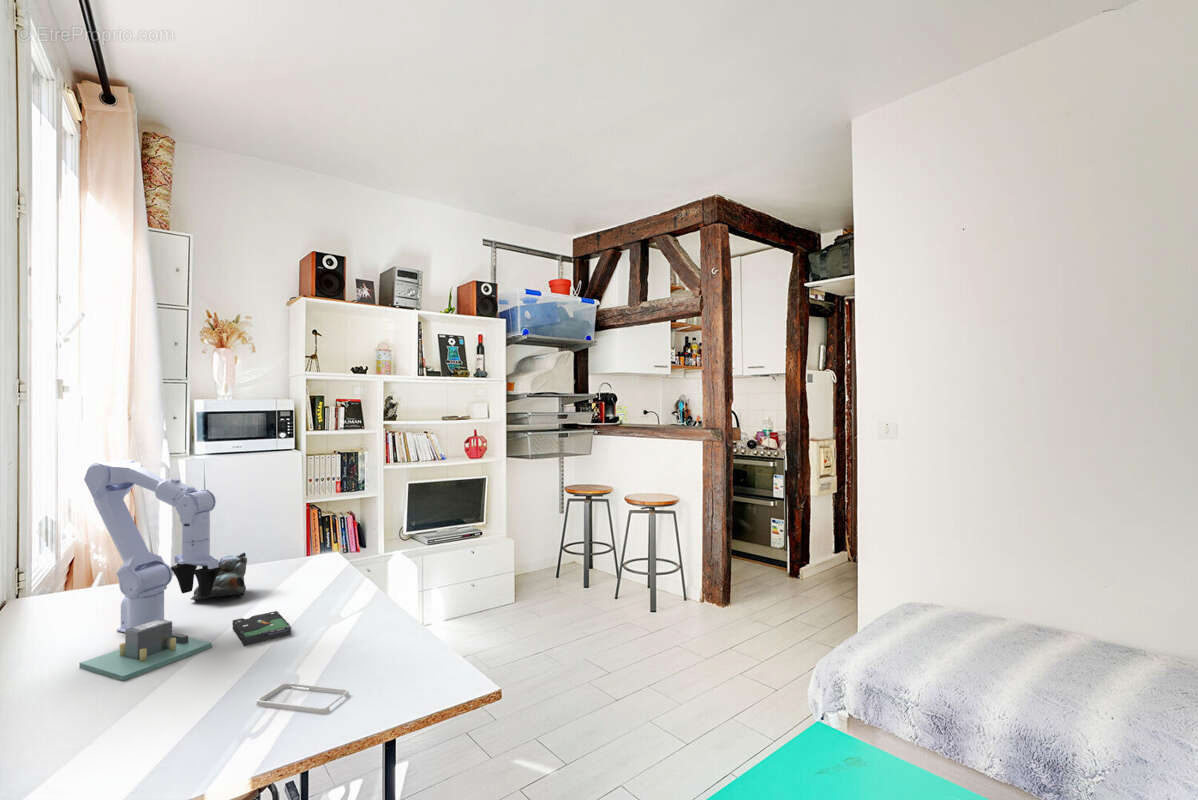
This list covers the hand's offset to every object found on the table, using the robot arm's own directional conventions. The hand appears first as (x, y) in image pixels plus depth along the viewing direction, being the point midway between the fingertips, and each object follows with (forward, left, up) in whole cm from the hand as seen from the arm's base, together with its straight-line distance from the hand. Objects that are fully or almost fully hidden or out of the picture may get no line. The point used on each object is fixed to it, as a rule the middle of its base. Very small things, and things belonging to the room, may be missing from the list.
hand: (196, 594), depth 145 cm
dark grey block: (+5, -13, -8) cm, 17 cm away
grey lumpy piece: (-21, +20, -10) cm, 31 cm away
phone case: (+54, -14, -10) cm, 57 cm away
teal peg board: (+5, -13, -9) cm, 17 cm away
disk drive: (+15, +6, -10) cm, 19 cm away
